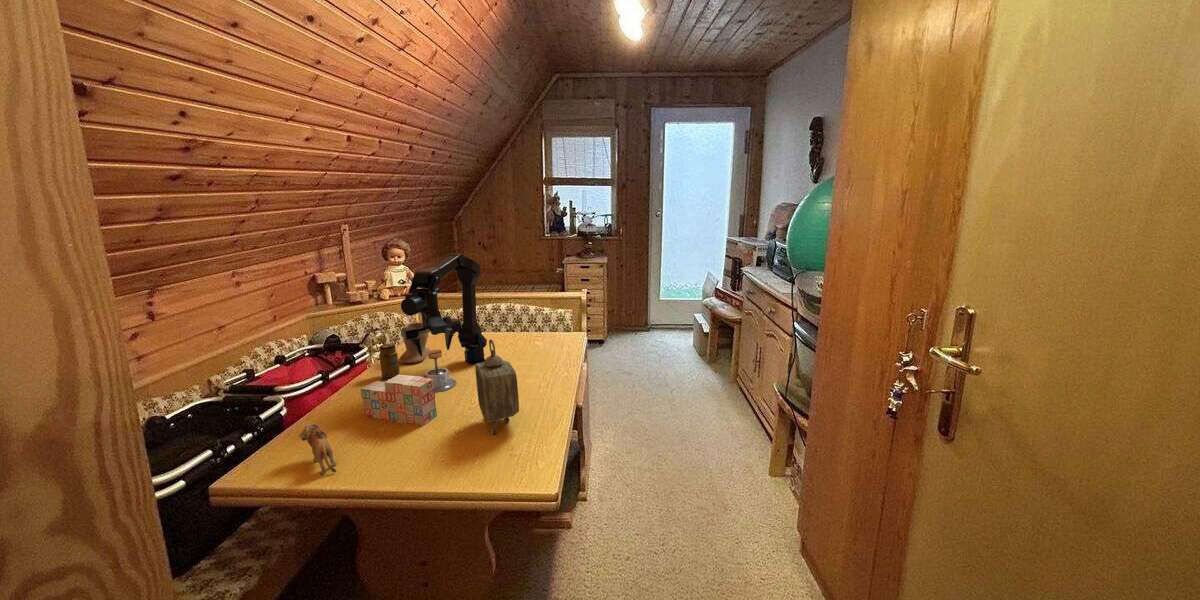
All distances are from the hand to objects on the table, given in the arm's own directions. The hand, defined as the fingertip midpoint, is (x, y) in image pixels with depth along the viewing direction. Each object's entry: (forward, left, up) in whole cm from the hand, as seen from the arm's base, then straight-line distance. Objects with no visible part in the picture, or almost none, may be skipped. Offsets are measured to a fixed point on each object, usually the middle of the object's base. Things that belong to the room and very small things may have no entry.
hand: (434, 352), depth 162 cm
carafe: (+1, 0, -11) cm, 12 cm away
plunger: (0, 0, -8) cm, 8 cm away
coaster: (0, 0, -12) cm, 12 cm away
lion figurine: (+40, +29, -12) cm, 51 cm away
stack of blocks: (+17, +16, -12) cm, 26 cm away
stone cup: (-4, -34, -12) cm, 36 cm away
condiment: (+10, -20, -12) cm, 25 cm away
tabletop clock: (-3, +40, -12) cm, 42 cm away
